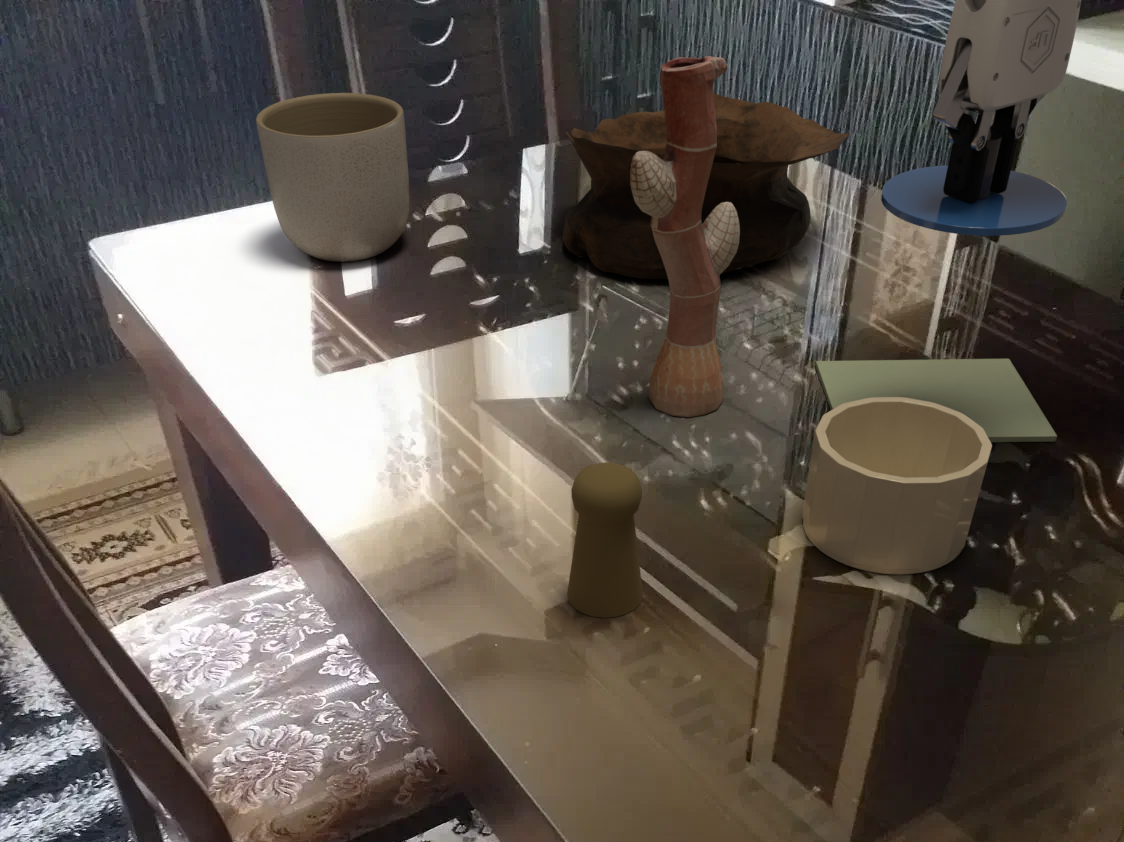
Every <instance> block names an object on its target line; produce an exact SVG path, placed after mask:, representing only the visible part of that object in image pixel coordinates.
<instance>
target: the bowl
mask: <svg viewBox="0 0 1124 842" xmlns="http://www.w3.org/2000/svg"><path fill="white" fill-rule="evenodd" d="M714 104H715V115H716V126H717V148H716V152H715V156H714V160H713V164H712V168H711V172H710V176H709V180H708V184H707V188H706V192H705V197H704V201H703V206H702V212H701V221H702V224H703V223H704V221H705V220H706V218H707V217H708V216H709V214H710V213H711V212H712V211H713V210H714V209H715V207H717V206H718V205H719V204H720V203H723V202H731V203H732V204H733V206H734V207H735V209H736V211H737V215H738V219H739V225H740V238H739V245H738V249H737V252H736V254H735V256H734V258H733V259H732V261H731V263H730V264H729V266H728V267H727V268H726V269H725V270H724V271H723V272H722V273H721V274H723V273H728V272H732V271H736V270H740V269H745V268H750V267H753V266H756V265H758V264H761V263H765V262H768V261H774V260H777V259H780V258H782V257H783V256H785V254H787V253H789V252H790V251H791V250H793V249H794V248H796V247H797V246H799V244H801V242H802V241H803V239H804V238H805V237H806V234H807V233H808V231H809V229H810V225H811V218H812V217H811V207H810V202H809V199H808V198H807V195H806V193H804V192H802V191H801V190H800V189H799V188H798V187H797V186H795V185H794V184H793V183H792V181H791V180H790V178H789V176H788V172H789V166H790V165H795V164H798V163H801V162H804V161H807V160H809V159H813V158H817V157H820V156H822V155H825V154H828V153H830V152H832V151H835V150H837V149H840V148H841V146H842V143H843V142H844V141H845V140H846V139H847V138H848V137H849V136H850V135H851V134H850V132H847V133H846V132H845V133H838V132H834V130H833V129H831V128H827V127H825V126H823V125H821V124H819V123H818V122H817V121H816V120H815V119H812V118H803V116H801V115H799V114H798V113H796V112H795V111H794V110H792V109H791V108H789V107H787V106H781V105H778V104H777V103H774V102H770V101H762V102H751V101H748V100H743V99H739V98H732V97H728V96H724V95H720V94H718V93H714ZM570 132H571V135H570V133H569V132H568V131H565V133H566V135H567V137H568V138H569V140H570V142H571V143H572V145H573V148H574V150H575V152H576V155H577V156H578V158H579V159H580V161H581V162H582V164H583V166H584V168H585V170H586V172H587V174H588V176H589V178H590V189H589V190H588V191H587V192H586V193H585V195H584V196H583V197H582V198H581V199H580V200H579V202H578V203H577V204H576V205H574V206H573V207H572V208H571V209H569V211H568V212H567V213H566V215H565V218H564V223H563V227H562V240H563V244H564V247H565V248H566V249H567V250H568V252H569V253H571V254H573V255H574V256H576V257H578V258H586V257H588V259H589V260H590V262H592V264H593V266H594V267H596V268H597V269H599V270H601V271H602V272H607V273H612V274H616V275H619V276H626V277H629V278H635V279H636V278H637V279H642V280H668V276H667V273H666V269H665V266H664V263H663V260H662V257H661V255H660V252H659V250H658V247H657V245H656V242H655V239H654V235H653V232H652V228H651V224H650V223H651V216H650V215H648V214H646V213H645V212H643V211H641V209H640V208H639V207H638V205H637V204H636V203H635V200H634V197H633V194H632V189H631V185H630V171H631V163H632V159H633V156H634V155H635V154H636V153H637V152H638V151H649V152H652V153H654V154H655V155H657V156H658V157H659V158H661V159H663V157H664V155H665V148H666V121H665V114H664V109H663V110H659V111H658V110H657V111H654V112H651V111H642V112H640V111H637V112H631V113H627V114H622V115H620V116H618V117H617V118H615V119H614V118H605V119H601V121H600V123H599V124H598V126H597V127H596V129H595V131H592V132H588V131H585V130H582V129H579V128H577V127H573V129H572V130H570Z"/></svg>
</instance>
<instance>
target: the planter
mask: <svg viewBox="0 0 1124 842" xmlns="http://www.w3.org/2000/svg"><path fill="white" fill-rule="evenodd" d="M255 123H256V129H257V135H258V141H259V145H260V150H261V154H262V159H263V162H264V168H265V175H266V179H267V183H268V187H269V193H270V196H271V200H272V204H273V208H274V211H275V214H276V218H277V221H278V223H279V226H280V228H281V230H282V232H283V233H284V235H285V237H286V238H287V239H288V240H289V241H290V242H291V244H293V245H294V246H295V247H296V248H298V250H301V251H302V252H304V253H305V254H307V255H308V256H310V257H313V258H315V259H319V260H322V261H328V262H339V263H340V262H357V261H362V260H367V259H370V258H373V257H376V256H378V255H381V254H382V253H384V252H385V251H387V250H388V249H390V248H391V247H392V246H393V245H394V244H395V243H396V242H397V241H398V240H399V239H400V237H401V236H402V234H403V233H404V230H405V228H406V226H407V224H408V220H409V213H410V211H409V210H410V180H409V179H410V178H409V163H408V150H407V137H406V136H407V135H406V124H405V113H404V109H403V107H402V106H401V104H399V103H397V102H396V101H395V100H392V99H389V98H387V97H383V96H379V95H374V94H367V93H356V92H329V93H315V94H309V95H303V96H297V97H293V98H288V99H285V100H281V101H278V102H276V103H273V104H270V105H268V106H267V107H265V108H263V109H262V110H261V111H260V112H258V114H257V115H256V117H255Z"/></svg>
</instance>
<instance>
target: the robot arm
mask: <svg viewBox="0 0 1124 842" xmlns="http://www.w3.org/2000/svg"><path fill="white" fill-rule="evenodd" d="M1081 4H1082V0H955V1H954V5H953V9H952V14H951V17H950V22H949V26H948V29H947V33H946V40H945V44H944V47H943V54H942V57H941V59H942V60H941V64H940V71H939V72H940V73H939V78H938V79H939V80H938V93H939V94H940V95H939V98H938V99H937V102H936V104H935V106H934V109H933V111H932V118H933V120H935V121H937V122H939V123H941V124H942V125H944V126H945V128H946V129H947V132H948V139H947V140H948V142H949V143H951V149H950V153H949V158H948V162H947V163H948V164H947V165H948V168H947V173H946V178H945V183H944V188H943V192H944V194H945V195H948V196H951V197H954V198H957V199H959V200H962V201H965V202H968V203H973V202H976V201H977V200H978V198H979V195H980V191H981V186H982V182H983V177H984V173H985V168H986V164H987V159H988V155H989V149H987V148H984V146H985V143H986V140H987V136H988V132H989V131H995V132H998V133H1000V134H1002V135H1003V139H1002V144H1001V148H1000V153H999V157H998V161H997V166H996V170H995V175H994V179H993V184H992V188H991V191H992V192H995V193H1002V192H1004V191H1005V190H1006V188H1007V184H1008V180H1009V176H1010V172H1011V171H1012V168H1013V164H1014V163H1013V162H1014V159H1015V156H1016V155H1015V154H1016V150H1017V147H1018V146H1017V145H1018V141H1019V140H1018V139H1020V138H1021V137H1022V136H1023V135H1024V134H1025V132H1026V128H1027V122H1028V118H1029V117H1030V115H1031V114H1032V113H1033V111H1034V109H1035V108H1036V107H1037V104H1038V103H1039V102H1041V100H1043V98H1045V96H1046V95H1049V94H1050V93H1053V92H1054V91H1056V90H1057V89H1059V87H1060V86H1061V85H1062V84H1063V82H1064V80H1065V77H1066V74H1067V71H1068V67H1069V62H1070V58H1071V53H1072V50H1073V45H1074V41H1075V36H1076V35H1075V34H1076V31H1077V26H1078V21H1079V15H1080V9H1081ZM970 112H973V113H977V116H976V120H974V117H973V115H971V114H970Z"/></svg>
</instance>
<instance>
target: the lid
mask: <svg viewBox="0 0 1124 842" xmlns="http://www.w3.org/2000/svg"><path fill="white" fill-rule="evenodd" d="M1002 139H1003V135H1002V134H1000V133H998V132H995V131H990V130H989V132H988V136H987V140H986V143H985V146H984V148H987V149H989V155H988V159H987V164H986V168H985V173H984V177H983V182H982V186H981V191H980V195H979V198H978V200H977V201H976V202H973V203H968V202H965V201H962V200H959V199H957V198H954V197H951V196H948V195H945V194H944V192H943V188H944V183H945V178H946V173H947V168H948V164H947V165H934V166H926V167H925V166H924V167H920V168H914V169H911V170H907V171H904V172H903V171H902V172H901V173H898V174H895V175H894V176H893V177H891V178H889V179H888V180H887V181H886V182H885V183H884V184H883V186H882V188H881V193H880V194H881V195H880V201H881V203H882V205H883V207H884V208H885V209H886V211H888V212H889V213H890V214H892V215H893V216H895V217H897V218H898V219H900V220H903V221H904V222H907V223H910V224H912V225H915V226H918V227H922V228H925V229H928V230H933V231H938V232H941V233H942V232H943V233H948V234H955V235H956V234H957V235H964V236H980V237H981V236H982V237H996V236H999V237H1000V236H1012V235H1022V234H1028V233H1032V232H1036V231H1040V230H1043V229H1046V228H1049V227H1051V226H1053V225H1054V224H1056V223H1058V222H1059V221H1060V220H1061V219H1062V218H1063V217H1064V215H1065V212H1066V209H1067V205H1068V203H1067V202H1068V201H1067V197H1066V195H1065V194H1064V193H1063V192H1062V191H1061V190H1060V189H1059V188H1058V187H1056V186H1055V185H1053V184H1051V183H1050V182H1048V181H1046V180H1044V179H1041V178H1039V177H1036V176H1033V175H1030V174H1028V173H1024V172H1019V171H1016V170H1011V172H1010V176H1009V180H1008V184H1007V188H1006V190H1005V191H1004V192H1002V193H995V192H992V191H991V188H992V184H993V179H994V175H995V170H996V166H997V161H998V157H999V153H1000V148H1001V144H1002Z"/></svg>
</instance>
